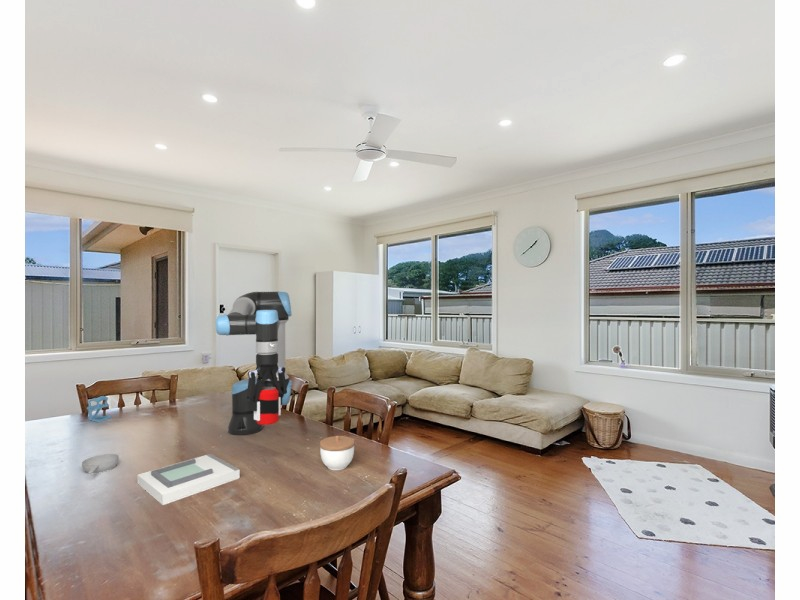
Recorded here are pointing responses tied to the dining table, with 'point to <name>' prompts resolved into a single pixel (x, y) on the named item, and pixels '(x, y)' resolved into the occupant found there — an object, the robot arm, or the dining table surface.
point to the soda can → (269, 406)
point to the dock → (187, 478)
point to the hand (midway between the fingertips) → (267, 417)
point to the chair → (97, 409)
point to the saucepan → (100, 463)
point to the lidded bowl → (337, 451)
